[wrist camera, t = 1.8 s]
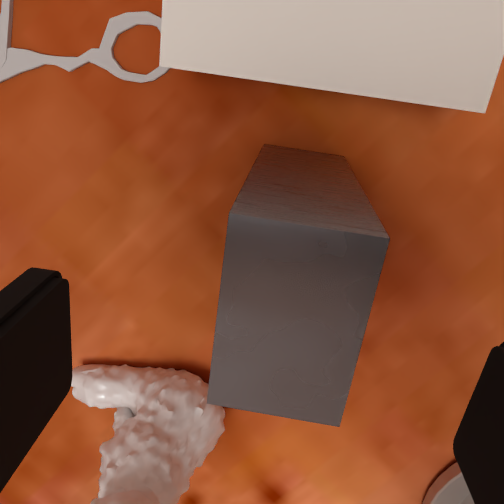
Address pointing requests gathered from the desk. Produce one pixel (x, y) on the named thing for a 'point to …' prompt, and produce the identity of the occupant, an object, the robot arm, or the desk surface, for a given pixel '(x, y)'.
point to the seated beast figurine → (149, 430)
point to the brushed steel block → (295, 287)
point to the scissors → (20, 60)
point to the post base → (345, 45)
